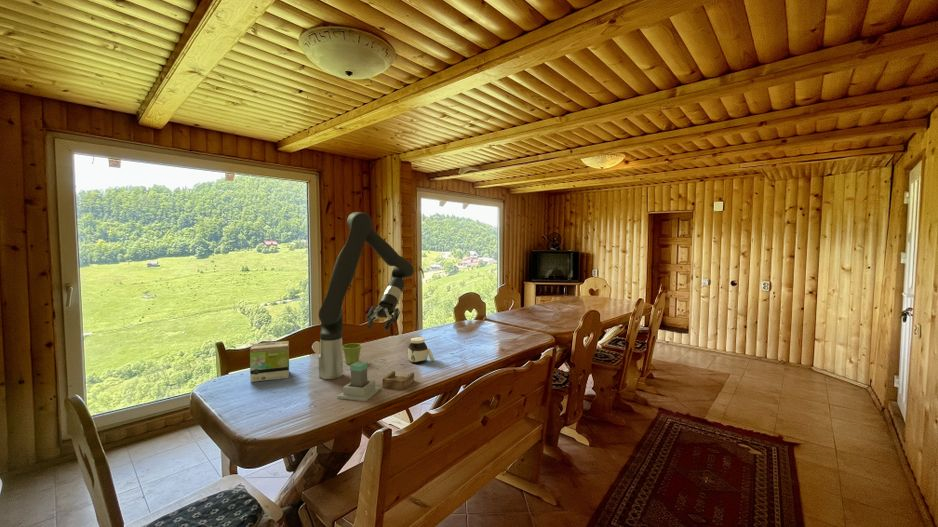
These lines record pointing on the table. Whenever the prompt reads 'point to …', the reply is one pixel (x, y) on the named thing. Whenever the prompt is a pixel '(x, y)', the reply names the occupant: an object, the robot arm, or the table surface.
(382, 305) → the robot arm
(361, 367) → the plug
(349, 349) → the plant pot
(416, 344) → the spread jar
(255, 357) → the tea box
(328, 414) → the table surface
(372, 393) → the port block
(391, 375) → the cradle
